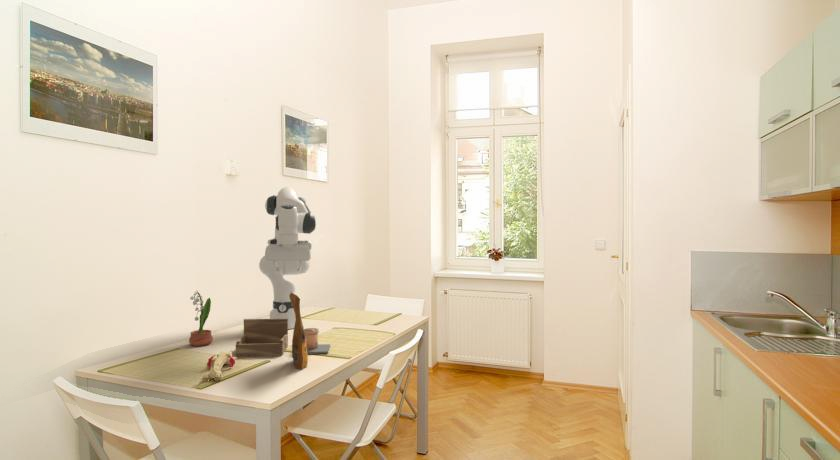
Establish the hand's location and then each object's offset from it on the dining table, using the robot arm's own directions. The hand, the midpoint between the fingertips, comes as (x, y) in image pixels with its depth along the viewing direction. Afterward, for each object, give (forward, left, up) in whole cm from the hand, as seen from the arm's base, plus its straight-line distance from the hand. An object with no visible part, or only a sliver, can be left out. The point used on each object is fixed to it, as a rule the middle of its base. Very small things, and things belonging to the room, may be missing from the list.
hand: (288, 270), depth 214 cm
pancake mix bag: (+29, +9, -34) cm, 46 cm away
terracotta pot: (+9, +11, -33) cm, 36 cm away
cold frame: (+10, -9, -34) cm, 37 cm away
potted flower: (-4, -40, -34) cm, 53 cm away
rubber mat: (+10, +14, -34) cm, 38 cm away
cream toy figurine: (+35, -19, -35) cm, 53 cm away
